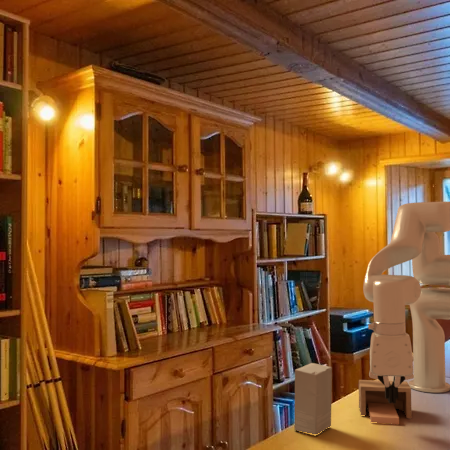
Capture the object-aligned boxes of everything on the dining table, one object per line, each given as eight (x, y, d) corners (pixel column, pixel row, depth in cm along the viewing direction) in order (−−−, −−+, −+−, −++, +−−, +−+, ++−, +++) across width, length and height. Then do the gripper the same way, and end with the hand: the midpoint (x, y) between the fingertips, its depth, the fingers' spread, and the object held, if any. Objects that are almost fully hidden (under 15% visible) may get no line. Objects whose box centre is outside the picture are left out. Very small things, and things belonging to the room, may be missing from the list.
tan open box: (359, 407, 156) (358, 378, 156) (406, 409, 154) (406, 380, 154) (361, 416, 148) (360, 386, 148) (411, 418, 146) (411, 388, 146)
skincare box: (309, 422, 143) (309, 361, 144) (334, 428, 139) (333, 365, 139) (292, 432, 137) (291, 368, 137) (317, 438, 132) (316, 372, 133)
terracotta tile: (367, 410, 154) (367, 402, 154) (393, 411, 153) (393, 403, 153) (371, 425, 143) (370, 416, 143) (399, 426, 141) (398, 418, 141)
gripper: (360, 331, 135) (362, 405, 135) (423, 331, 132) (425, 407, 133) (358, 325, 142) (360, 395, 143) (418, 325, 140) (420, 397, 140)
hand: (391, 401), depth 138 cm, fingers closed
